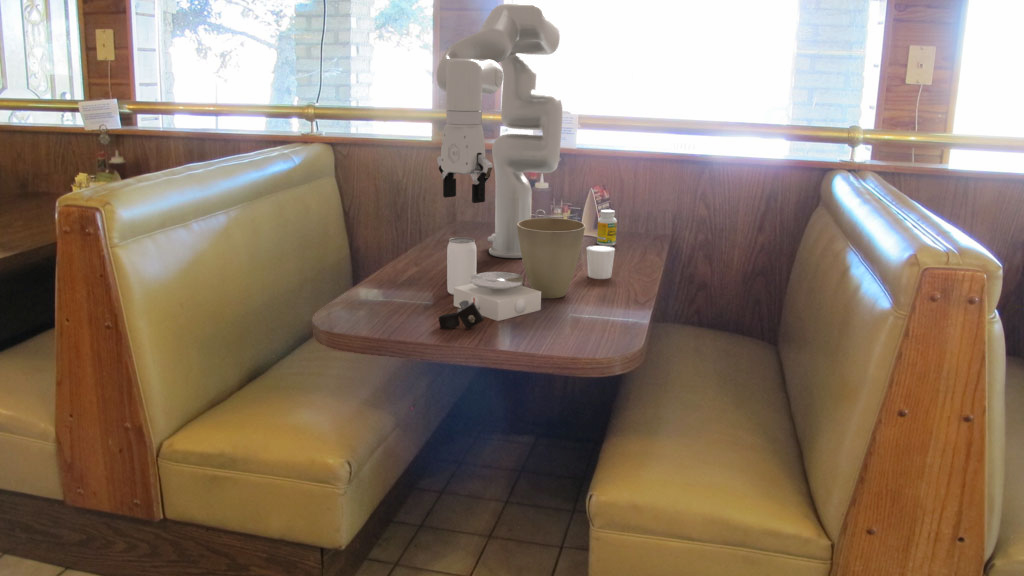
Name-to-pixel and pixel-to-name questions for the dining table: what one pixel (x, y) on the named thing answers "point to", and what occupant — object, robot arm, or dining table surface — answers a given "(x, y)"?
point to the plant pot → (550, 253)
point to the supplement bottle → (607, 228)
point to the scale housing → (499, 300)
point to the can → (460, 262)
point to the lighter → (461, 317)
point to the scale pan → (497, 280)
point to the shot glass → (600, 261)
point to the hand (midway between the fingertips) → (463, 199)
